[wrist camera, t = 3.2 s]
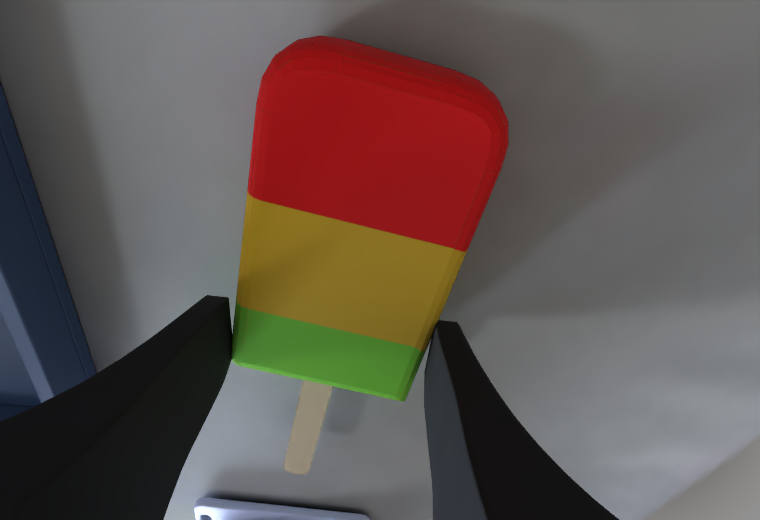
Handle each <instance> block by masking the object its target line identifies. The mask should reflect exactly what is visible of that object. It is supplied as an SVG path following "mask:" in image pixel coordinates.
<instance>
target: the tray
mask: <svg viewBox="0 0 760 520" xmlns="http://www.w3.org/2000/svg"><path fill="white" fill-rule="evenodd" d="M95 374H97V373H96V370H95V367H94V364H93V361H92V358H91V355H90V352H89V349H88V346H87V343H86V340H85V337H84V334H83V331H82V328H81V325H80V322H79V319H78V316H77V313H76V310H75V307H74V304H73V301H72V298H71V295H70V292H69V289H68V286H67V283H66V280H65V277H64V274H63V271H62V268H61V265H60V262H59V259H58V255H57V252H56V249H55V246H54V243H53V240H52V237H51V234H50V231H49V228H48V225H47V222H46V219H45V216H44V213H43V210H42V207H41V204H40V201H39V198H38V195H37V192H36V189H35V186H34V183H33V180H32V177H31V174H30V171H29V168H28V165H27V162H26V159H25V156H24V153H23V150H22V147H21V144H20V141H19V138H18V135H17V132H16V129H15V126H14V123H13V120H12V117H11V114H10V111H9V108H8V105H7V102H6V99H5V96H4V93H3V90H2V87H1V84H0V422H1V421H3V420H5V419H8V418H10V417H12V416H14V415H17V414H19V413H21V412H23V411H26V410H28V409H30V408H32V407H34V406H36V405H38V404H40V403H42V402H44V401H46V400H48V399H50V398H52V397H54V396H56V395H58V394H60V393H62V392H64V391H66V390H68V389H70V388H72V387H74V386H76V385H78V384H80V383H81V382H83V381H85V380H86V379H88V378H90V377H92V376H93V375H95Z"/></svg>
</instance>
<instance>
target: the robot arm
mask: <svg viewBox="0 0 760 520" xmlns="http://www.w3.org/2000/svg"><path fill="white" fill-rule="evenodd" d="M231 353H232V327H231V318H230V308H229V298H228V297H219V296H210V295H207V296H205V297H204V298H202V299H201V300H200V301H199V302H197V303H196V304H195V305H193V306H192V307H191V308H189V309H188V310H187V311H186V312H184V313H183V314H182V315H180V316H179V317H178V318H177V319H175V320H174V321H173V322H171V323H170V324H169V325H168V326H166V327H165V328H164V329H162V330H161V331H159V332H158V333H157V334H155V335H154V336H153V337H151V338H150V339H149V340H147V341H146V342H144V343H143V344H142V345H140V346H139V347H137V348H136V349H134V350H133V351H131V352H130V353H128V354H127V355H125V356H124V357H123V358H121V359H120V360H118V361H117V362H115V363H113V364H112V365H110V366H109V367H107V368H105V369H104V370H102V371H100V372H99V373H97V374H95V375H93V376H92V377H90V378H88V379H86V380H85V381H83V382H81V383H80V384H78V385H76V386H74V387H72V388H70V389H68V390H66V391H64V392H62V393H60V394H58V395H56V396H54V397H52V398H50V399H48V400H46V401H44V402H42V403H40V404H38V405H36V406H34V407H32V408H30V409H28V410H26V411H23V412H21V413H19V414H17V415H14V416H12V417H10V418H8V419H5V420H3V421H1V422H0V520H163V519H164V516H165V513H166V510H167V508H168V505H169V502H170V499H171V497H172V494H173V491H174V489H175V486H176V483H177V481H178V478H179V475H180V473H181V470H182V468H183V466H184V463H185V461H186V459H187V457H188V454H189V452H190V450H191V448H192V446H193V444H194V442H195V440H196V438H197V436H198V434H199V432H200V430H201V428H202V426H203V424H204V422H205V420H206V418H207V416H208V414H209V412H210V410H211V408H212V406H213V404H214V402H215V400H216V398H217V395H218V393H219V391H220V389H221V387H222V385H223V383H224V380H225V377H226V374H227V371H228V368H229V365H230V362H231V359H232V355H231ZM424 408H425V419H426V429H427V438H428V448H429V457H430V467H431V476H432V490H433V520H619V519H618V518H616V517H615V516H614V515H613V514H611V513H610V512H609V511H608V510H607V509H605V508H604V507H603V506H602V505H600V504H599V503H598V502H597V501H596V500H594V499H593V498H592V497H591V496H590V495H589V494H588V493H587V492H586V491H584V490H583V489H582V488H581V487H580V486H579V485H578V484H577V483H576V482H575V481H573V480H572V479H571V478H570V477H569V476H568V475H567V474H566V473H565V472H564V471H563V470H562V469H561V468H560V467H559V466H558V465H557V464H556V463H555V462H554V461H553V460H552V459H551V457H550V456H549V455H548V454H547V453H546V452H545V451H544V450H543V449H542V448H541V447H540V446H539V445H538V444H537V442H536V441H535V440H534V439H533V438H532V437H531V436H530V434H529V433H528V432H527V431H526V430H525V428H524V427H523V426H522V425H521V423H520V422H519V421H518V420H517V418H516V417H515V416H514V415H513V413H512V412H511V410H510V409H509V408H508V406H507V405H506V404H505V402H504V401H503V399H502V398H501V396H500V395H499V394H498V392H497V391H496V389H495V388H494V386H493V385H492V383H491V381H490V380H489V378H488V377H487V375H486V373H485V372H484V370H483V368H482V367H481V365H480V363H479V362H478V360H477V358H476V356H475V355H474V353H473V351H472V349H471V347H470V345H469V343H468V342H467V340H466V338H465V336H464V334H463V331H462V329H461V327H460V325H459V324H458V323H457V322H450V321H441V320H438V322H437V323H436V325H435V329H434V332H433V334H432V338H431V343H430V348H429V353H428V358H427V363H426V368H425V379H424ZM194 511H195V516H196V520H370V519H369V518H368V517H367V516H366V515H363V514H356V513H347V512H338V511H328V510H319V509H310V508H300V507H291V506H282V505H272V504H263V503H254V502H244V501H235V500H226V499H216V498H207V497H204V498H200V499H198V500H197V502H196V504H195V507H194Z"/></svg>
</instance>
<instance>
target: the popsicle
mask: <svg viewBox="0 0 760 520" xmlns="http://www.w3.org/2000/svg"><path fill="white" fill-rule="evenodd" d="M507 147H508V120H507V117H506V115H505V113H504V111H503V108H502V106H501V104H500V102H499V100H498V98H497V97H496V95H495V94H494V93H493V92H491V91H490V90H489V89H488V88H487V87H486V86H485V85H483V84H482V83H481V82H480V81H479V80H477V79H475V78H472V77H470V76H467V75H465V74H463V73H460V72H458V71H455V70H452V69H449V68H445V67H442V66H438V65H435V64H431V63H428V62H424V61H420V60H417V59H413V58H410V57H406V56H403V55H399V54H396V53H392V52H389V51H385V50H381V49H378V48H374V47H371V46H367V45H364V44H360V43H357V42H353V41H350V40H345V39H339V38H333V37H326V36H316V37H310V38H304V39H299V40H297V41H295V42H293V43H292V44H290V45H289V46H288V47H286V48H285V49H283V50H282V51H280V52H279V53H278V54H276V55H275V56H274V58H273V59H272V61H271V63H270V64H269V66H268V68H267V70H266V71H265V73H264V75H263V76H262V80H261V85H260V89H259V94H258V98H257V103H256V113H255V122H254V132H253V142H252V151H251V161H250V171H249V180H248V190H247V200H246V209H245V219H244V229H243V238H242V248H241V258H240V267H239V277H238V287H237V296H236V306H235V316H234V325H233V335H232V353H231V355H232V360H233V362H234V363H235V364H237V365H239V366H242V367H247V368H252V369H256V370H261V371H265V372H270V373H274V374H279V375H284V376H288V377H293V378H297V379H302V380H303V384H302V388H301V392H300V397H299V401H298V405H297V410H296V414H295V418H294V423H293V427H292V431H291V436H290V440H289V445H288V449H287V453H286V458H285V462H284V469H285V470H286V471H288V472H290V473H294V474H300V475H302V474H307V473H308V472H309V470H310V466H311V463H312V459H313V456H314V452H315V449H316V445H317V442H318V438H319V434H320V431H321V427H322V424H323V420H324V417H325V413H326V410H327V406H328V403H329V399H330V396H331V392H332V388H333V386H334V387H338V388H343V389H348V390H352V391H357V392H361V393H366V394H371V395H375V396H380V397H384V398H389V399H393V400H398V401H403V402H404V401H405V399H406V397H407V395H408V392H409V390H410V388H411V385H412V383H413V380H414V378H415V375H416V373H417V371H418V368H419V366H420V363H421V361H422V359H423V356H424V354H425V351H426V349H427V347H428V344H429V342H430V339H431V337H432V334H433V332H434V329H435V325H436V323H437V322H438V320H439V318H440V315H441V313H442V310H443V308H444V305H445V303H446V301H447V298H448V296H449V293H450V291H451V289H452V286H453V284H454V281H455V279H456V277H457V274H458V272H459V269H460V267H461V264H462V262H463V260H464V257H465V255H466V252H467V250H468V248H469V245H470V243H471V240H472V238H473V235H474V233H475V231H476V228H477V226H478V223H479V221H480V219H481V216H482V214H483V211H484V209H485V206H486V204H487V202H488V199H489V197H490V194H491V192H492V190H493V187H494V185H495V182H496V180H497V178H498V175H499V173H500V170H501V168H502V164H503V161H504V157H505V154H506V151H507Z"/></svg>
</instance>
